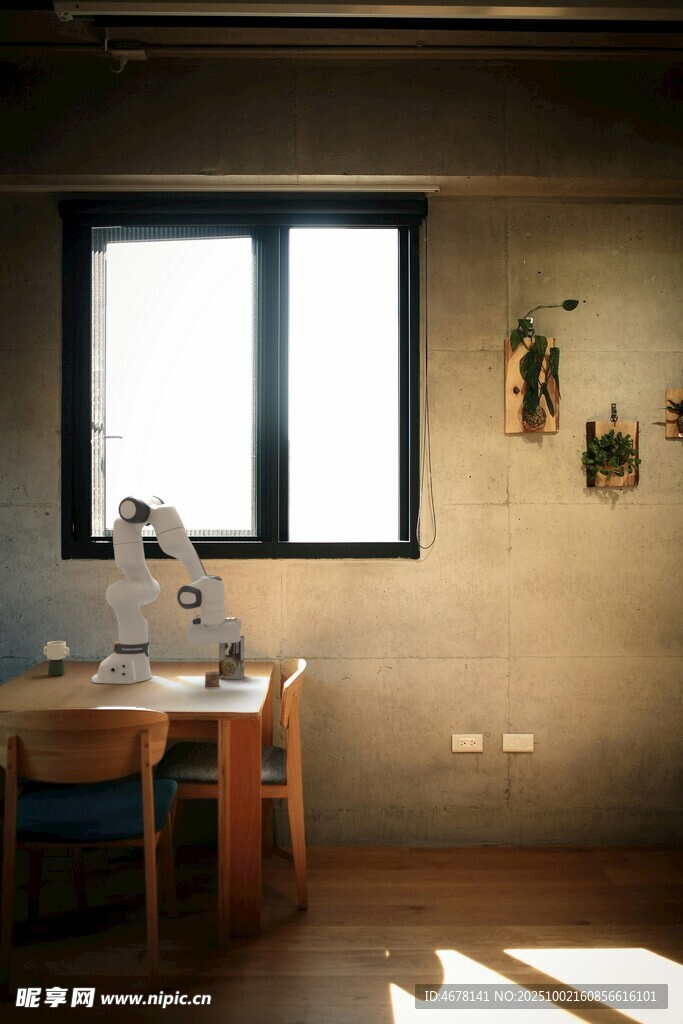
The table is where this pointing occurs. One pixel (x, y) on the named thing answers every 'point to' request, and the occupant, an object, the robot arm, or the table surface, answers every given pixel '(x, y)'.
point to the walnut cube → (212, 679)
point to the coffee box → (232, 660)
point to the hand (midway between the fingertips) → (213, 655)
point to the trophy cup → (56, 656)
